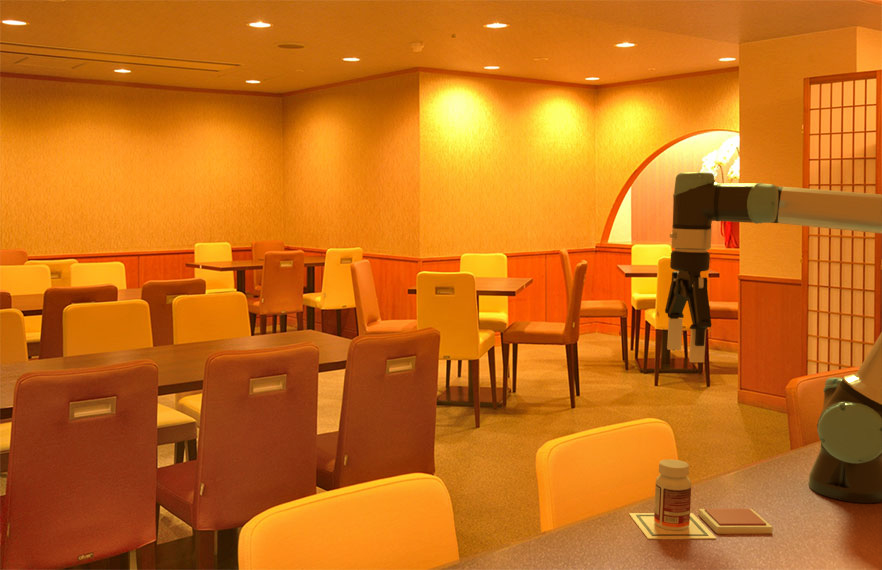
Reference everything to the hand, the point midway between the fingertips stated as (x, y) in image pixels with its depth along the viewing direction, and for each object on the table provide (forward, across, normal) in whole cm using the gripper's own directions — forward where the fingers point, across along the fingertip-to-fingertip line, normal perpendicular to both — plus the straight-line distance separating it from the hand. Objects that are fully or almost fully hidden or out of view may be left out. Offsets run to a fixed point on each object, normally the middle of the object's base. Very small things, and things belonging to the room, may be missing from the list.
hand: (684, 355), depth 182 cm
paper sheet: (+27, +23, -9) cm, 36 cm away
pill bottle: (+27, +23, -9) cm, 36 cm away
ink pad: (+27, +22, +3) cm, 35 cm away
